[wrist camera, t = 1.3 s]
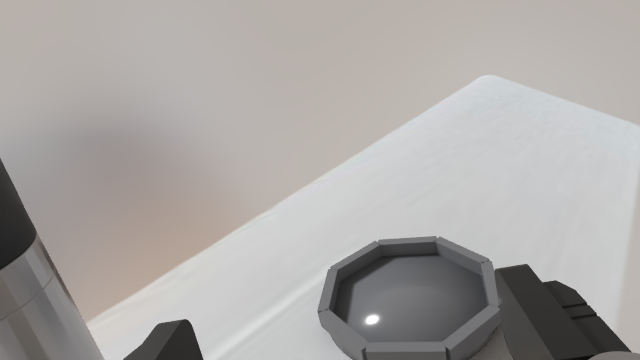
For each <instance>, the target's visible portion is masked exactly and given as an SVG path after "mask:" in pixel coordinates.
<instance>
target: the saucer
mask: <svg viewBox="0 0 640 360" xmlns="http://www.w3.org/2000/svg"><path fill="white" fill-rule="evenodd" d="M330 268H331V269H328V273H327V276H326V280H325V284H324V288H323V292H322V295H321V299H320V303H319V307H318V315H319V319H320V323H321V326H322V327H323V328H324V329H325V330H326V331H328V332H329V333H330V334H331V337H332V339H333V340H334V342H335V343H336V345H337V346H338V347H339V348H340V349H341V350H342V351H343V352H344V353H345V354H346V355H347V356H349V357H350V358H351V359H353V360H467V359H469V358H471V357H472V356H473V355H475V354H476V353H477V352H479V351H480V350H481V349H482V348H483V347H484V346H485V345H486V344H487V342H488V341H489V340H490V338H491V337H492V335H493V333H494V331H495V329H496V327H497V326H499V325H500V324H501V323H502V322H501V315H500V309H499V302H498V295H497V289H496V282H495V273H494V269H493V265H492V261H489V259H488V258H486V257H484V256H481V255H479V254H477V253H475V252H473V251H470V250H468V249H466V248H464V247H461V246H459V245H457V244H455V243H453V242H450V241H448V240H446V239H444V238H442V237H439V238H436V236H432V237H416V238H400V239H384V240H379V241H378V242H376V241H374V242H372V243H371V244H369V245H367V246H366V247H364V248H362V249H360V250H359V251H357V252H355V253H354V254H352V255H350V256H348V257H347V258H345V259H343V260H342V261H340V262H338V263H336V264H335V265H333V266H331V267H330Z"/></svg>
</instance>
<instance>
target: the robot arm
mask: <svg viewBox="0 0 640 360" xmlns="http://www.w3.org/2000/svg"><path fill="white" fill-rule="evenodd" d="M495 282H496V289H497V295H498V302H499V309H500V315H501V322H502V328H503V332H504V336H505V340H506V343H507V346H508V349H509V351H510V353H511V355H512V357H513V359H514V360H640V354H637V353H632V352H631V351H630V350H629V349H628V347H627V346H626V345H625V344H624V343H623V342H622V341H621V340H620V339H619V338H618V336H617V335H616V334H615V333H614V332H613V331H612V330H611V329H610V328H609V327H608V326H607V324H606V323H605V322H604V321H603V320H602V319H601V318H600V317H599V316H597V313H596V312H595V311H594V310H593V309H592V308H591V307H590V306H589V305H587V302H586V301H585V300H584V299H583V298H582V297H581V296H580V295H579V294H578V293H577V291H576V290H574V289H572V288H570V287H568V286H566V285H564V284H562V283H560V282H558V281H556V280H555V281H549V282H543V283H542V282H541V280H540V279H539V278H538V277H537V275H536V274H535V273H534V272H533V270H532V269H531V268H530V267H529V265H527V264H523V265H517V266H511V267H505V268H499V269H495ZM0 360H104V358H103V356H102V354H101V352H100V350H99V348H98V346H97V345H96V343H95V341H94V339H93V337H92V335H91V333H90V331H89V329H88V327H87V326H86V324H85V322H84V320H83V318H82V316H81V314H80V312H79V310H78V309H77V307H76V305H75V303H74V301H73V299H72V297H71V295H70V293H69V291H68V290H67V288H66V286H65V284H64V282H63V280H62V278H61V276H60V274H59V273H58V271H57V269H56V267H55V265H54V263H53V262H52V260H51V258H50V256H49V254H48V252H47V250H46V248H45V246H44V244H43V243H42V241H41V239H40V237H39V235H38V233H37V231H36V229H35V227H34V225H33V223H32V222H31V220H30V218H29V216H28V214H27V212H26V210H25V208H24V206H23V204H22V202H21V199H20V197H19V195H18V193H17V191H16V189H15V187H14V185H13V183H12V181H11V179H10V177H9V175H8V173H7V171H6V169H5V167H4V165H3V163H2V161H1V159H0ZM123 360H203V357H202V354H201V351H200V348H199V345H198V342H197V339H196V336H195V333H194V330H193V327H192V325H191V323H190V322H189V321H188V320H186V319H184V320H177V321H171V322H165V323H160V324H158V325H157V326H156V327H155V328H154V329H153V331H152V332H151V333H150V334H149V336H148V337H147V338H146V340H145V341H144V342H143V344H142V345H140V346H139V347H138V348H137V349H135V350H134V351H133V352H132V353H130V354H129V355H128V356H127V357H125V358H124V359H123Z"/></svg>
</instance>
